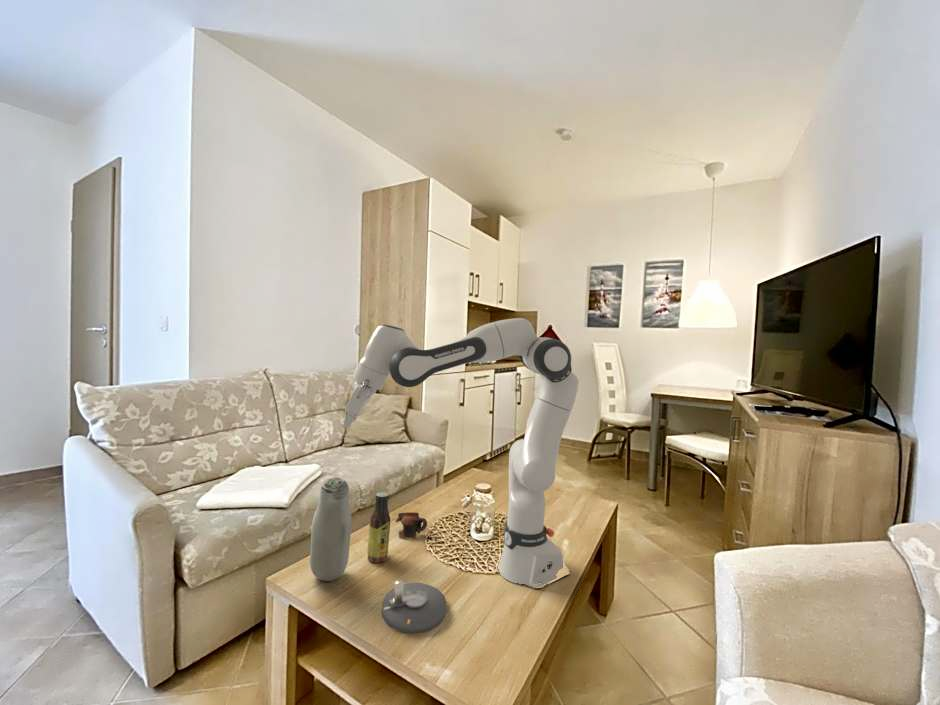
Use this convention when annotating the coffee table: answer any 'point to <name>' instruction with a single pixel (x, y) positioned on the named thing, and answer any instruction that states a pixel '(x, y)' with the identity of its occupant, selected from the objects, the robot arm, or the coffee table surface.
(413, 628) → the dial plate
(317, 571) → the grey bottle
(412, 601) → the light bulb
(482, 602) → the coffee table surface
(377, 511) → the sauce bottle
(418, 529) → the pottery mug
